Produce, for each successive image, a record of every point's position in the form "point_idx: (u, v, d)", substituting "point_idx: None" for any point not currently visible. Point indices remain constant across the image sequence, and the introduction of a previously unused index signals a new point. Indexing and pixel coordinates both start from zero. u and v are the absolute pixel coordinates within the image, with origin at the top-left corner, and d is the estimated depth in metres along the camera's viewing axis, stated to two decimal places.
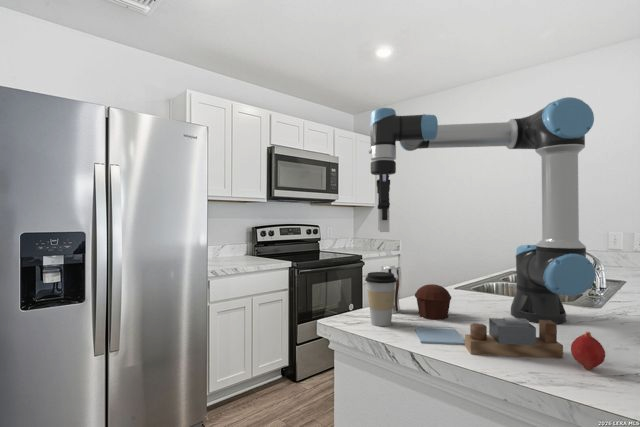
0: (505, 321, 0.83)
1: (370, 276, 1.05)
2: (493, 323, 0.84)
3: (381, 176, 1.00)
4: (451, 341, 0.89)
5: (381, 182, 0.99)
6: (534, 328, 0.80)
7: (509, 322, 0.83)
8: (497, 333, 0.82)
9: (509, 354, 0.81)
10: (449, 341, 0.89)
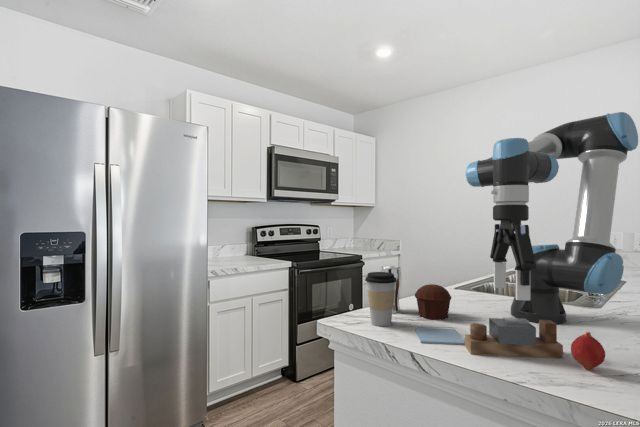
0: (505, 321, 0.83)
1: (370, 276, 1.05)
2: (493, 323, 0.84)
3: (519, 227, 0.77)
4: (451, 341, 0.89)
5: (519, 235, 0.77)
6: (534, 328, 0.80)
7: (509, 322, 0.83)
8: (497, 333, 0.82)
9: (509, 354, 0.81)
10: (449, 341, 0.89)
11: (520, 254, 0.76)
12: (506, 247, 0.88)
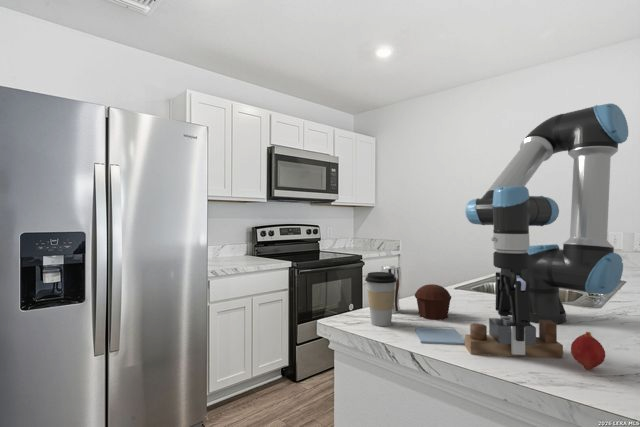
0: (505, 321, 0.83)
1: (370, 276, 1.05)
2: (493, 323, 0.84)
3: (519, 285, 0.77)
4: (451, 341, 0.89)
5: (518, 292, 0.78)
6: (534, 328, 0.80)
7: (509, 322, 0.83)
8: (497, 333, 0.82)
9: (509, 354, 0.81)
10: (449, 341, 0.89)
11: (517, 311, 0.78)
12: None
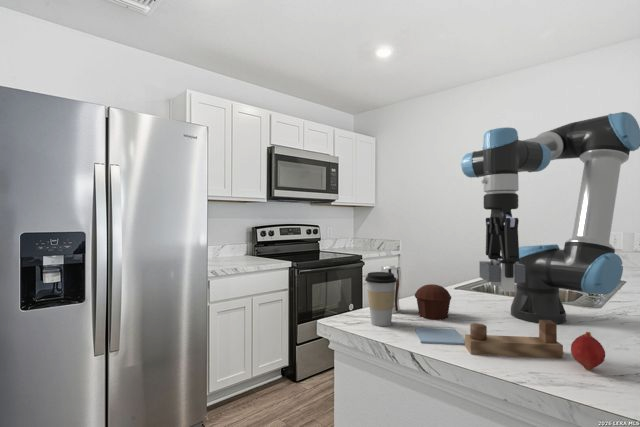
0: (495, 261, 0.85)
1: (370, 276, 1.05)
2: (483, 264, 0.86)
3: (509, 221, 0.79)
4: (451, 341, 0.89)
5: (508, 229, 0.79)
6: (523, 266, 0.81)
7: None
8: (487, 272, 0.83)
9: (509, 354, 0.81)
10: (449, 341, 0.89)
11: (506, 247, 0.79)
12: None
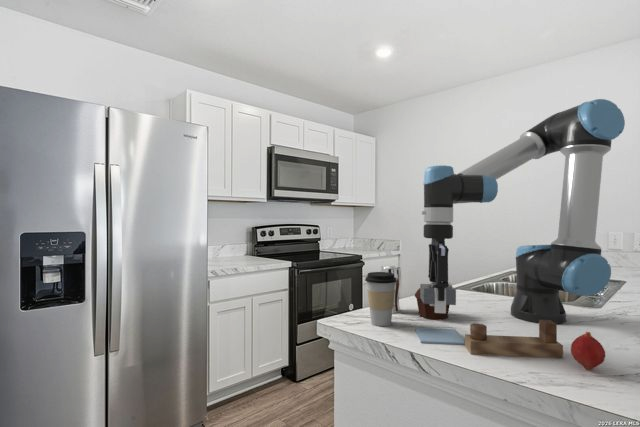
0: (432, 285, 0.94)
1: (370, 276, 1.05)
2: (422, 287, 0.95)
3: (439, 251, 0.88)
4: (451, 341, 0.89)
5: (439, 257, 0.89)
6: (454, 290, 0.91)
7: None
8: (423, 295, 0.93)
9: (509, 354, 0.81)
10: (449, 341, 0.89)
11: (437, 274, 0.89)
12: None
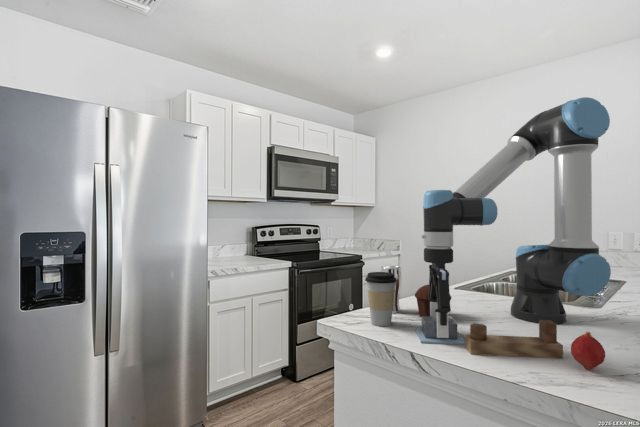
0: (433, 318, 0.94)
1: (370, 276, 1.05)
2: (423, 320, 0.95)
3: (440, 274, 0.88)
4: (451, 341, 0.89)
5: (440, 281, 0.88)
6: (456, 324, 0.91)
7: (436, 319, 0.94)
8: (424, 329, 0.93)
9: (509, 354, 0.81)
10: (449, 341, 0.89)
11: (439, 298, 0.88)
12: None
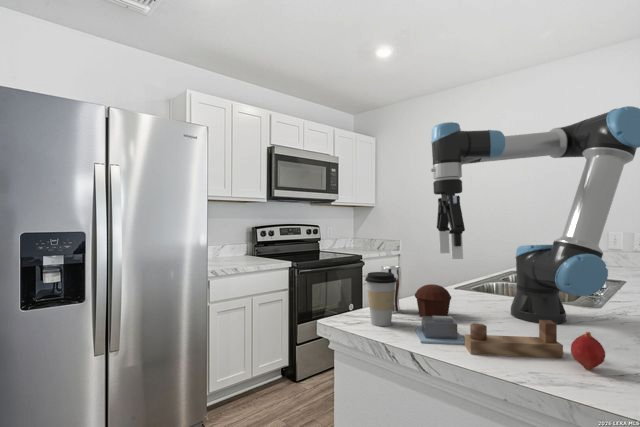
0: (433, 318, 0.94)
1: (370, 276, 1.05)
2: (423, 320, 0.95)
3: (451, 198, 0.91)
4: (451, 341, 0.89)
5: (452, 204, 0.91)
6: (456, 324, 0.91)
7: (436, 319, 0.94)
8: (424, 329, 0.93)
9: (509, 354, 0.81)
10: (449, 341, 0.89)
11: (452, 220, 0.90)
12: (447, 217, 1.02)
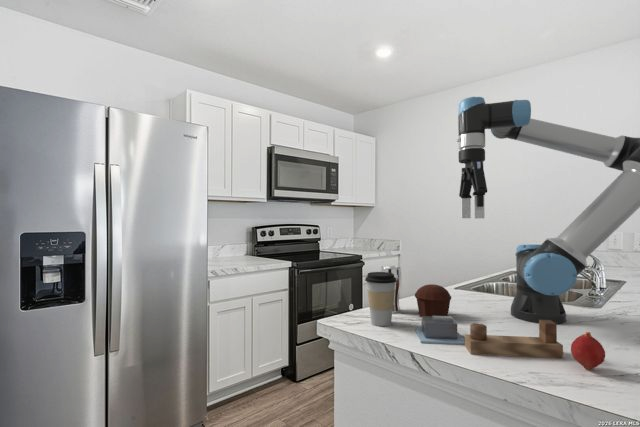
0: (433, 318, 0.94)
1: (370, 276, 1.05)
2: (423, 320, 0.95)
3: (475, 163, 1.01)
4: (451, 341, 0.89)
5: (476, 169, 1.01)
6: (456, 324, 0.91)
7: (436, 319, 0.94)
8: (424, 329, 0.93)
9: (509, 354, 0.81)
10: (449, 341, 0.89)
11: (476, 183, 1.00)
12: (470, 185, 1.12)
